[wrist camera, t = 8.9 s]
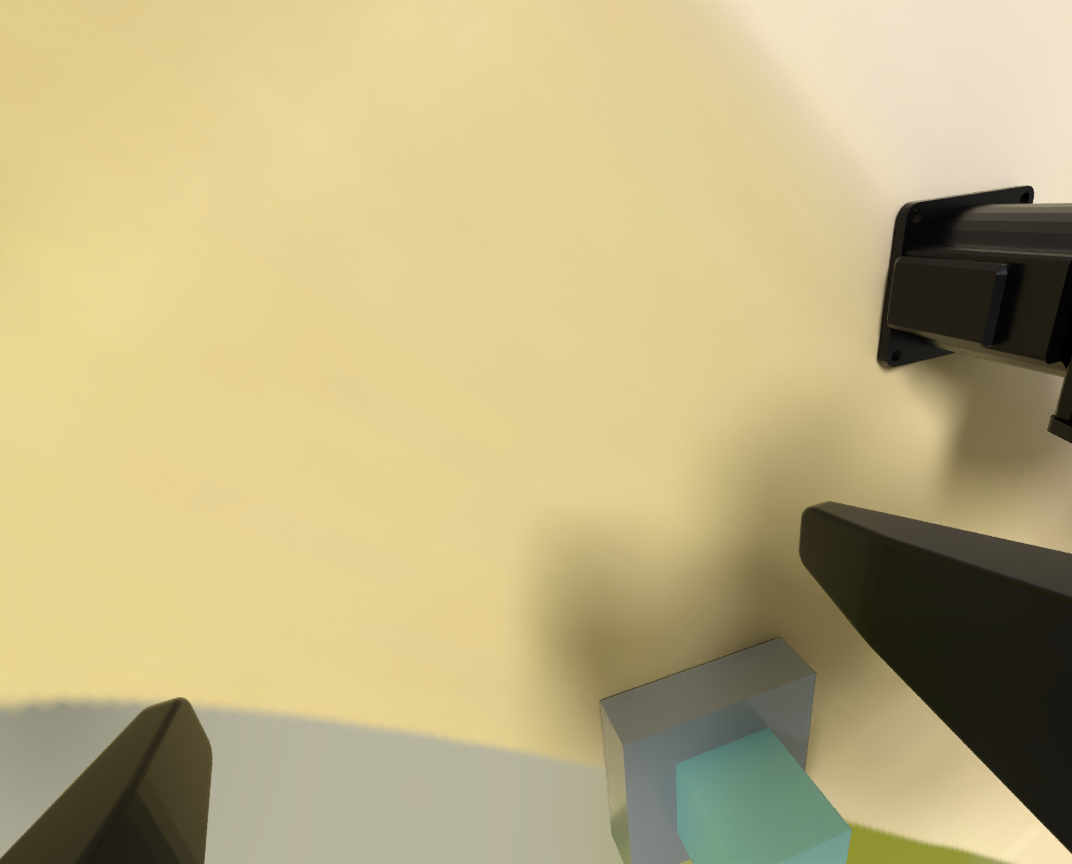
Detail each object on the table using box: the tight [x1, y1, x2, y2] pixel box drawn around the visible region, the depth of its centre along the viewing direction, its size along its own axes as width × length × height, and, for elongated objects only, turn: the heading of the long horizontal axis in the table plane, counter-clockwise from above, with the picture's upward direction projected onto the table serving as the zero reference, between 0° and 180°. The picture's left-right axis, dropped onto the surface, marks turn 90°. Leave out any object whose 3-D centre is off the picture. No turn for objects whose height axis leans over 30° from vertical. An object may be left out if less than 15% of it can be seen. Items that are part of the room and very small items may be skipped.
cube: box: [676, 727, 852, 864], centre depth 25 cm, size 5×5×5 cm
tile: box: [600, 637, 816, 864], centre depth 28 cm, size 10×10×2 cm
